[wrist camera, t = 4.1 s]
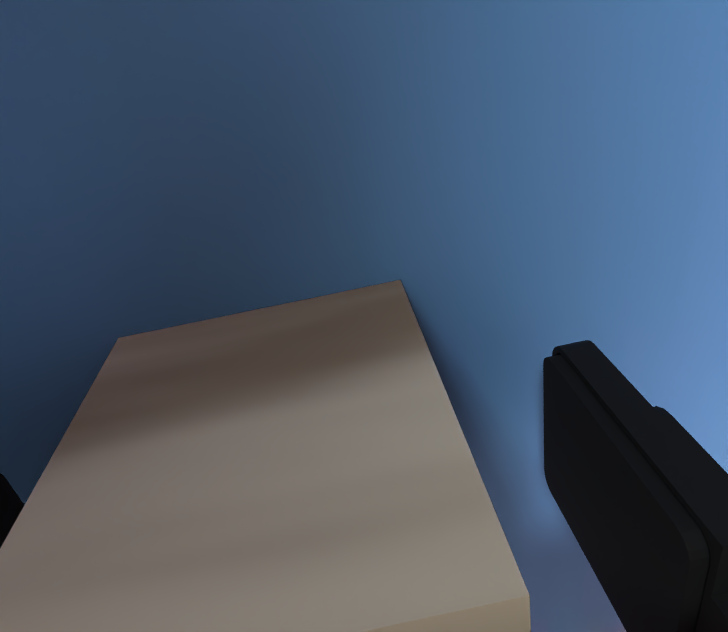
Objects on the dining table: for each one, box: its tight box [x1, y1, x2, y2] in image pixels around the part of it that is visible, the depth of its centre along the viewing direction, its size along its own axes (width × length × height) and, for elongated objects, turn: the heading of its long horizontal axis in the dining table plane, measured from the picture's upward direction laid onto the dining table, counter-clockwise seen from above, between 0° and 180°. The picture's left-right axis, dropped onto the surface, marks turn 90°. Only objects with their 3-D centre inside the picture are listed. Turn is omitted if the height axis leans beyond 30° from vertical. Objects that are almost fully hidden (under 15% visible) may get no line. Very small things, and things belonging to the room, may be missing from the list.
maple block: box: [0, 280, 531, 632], centre depth 8 cm, size 5×5×6 cm
